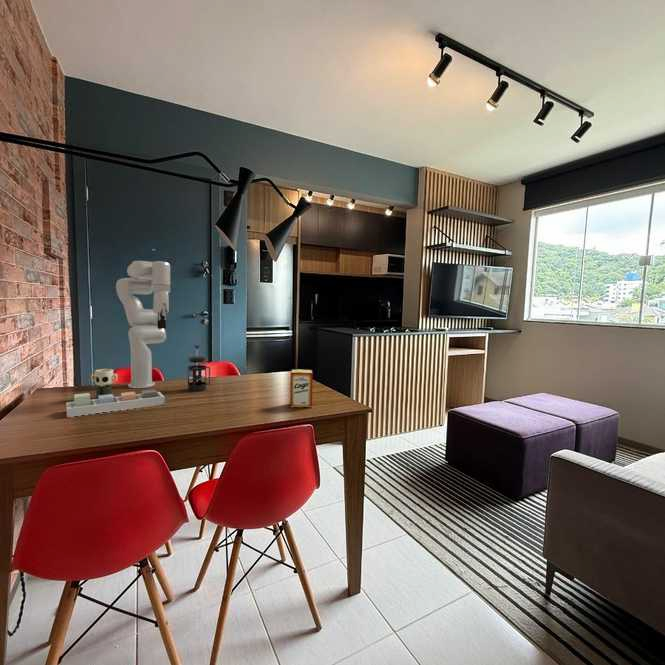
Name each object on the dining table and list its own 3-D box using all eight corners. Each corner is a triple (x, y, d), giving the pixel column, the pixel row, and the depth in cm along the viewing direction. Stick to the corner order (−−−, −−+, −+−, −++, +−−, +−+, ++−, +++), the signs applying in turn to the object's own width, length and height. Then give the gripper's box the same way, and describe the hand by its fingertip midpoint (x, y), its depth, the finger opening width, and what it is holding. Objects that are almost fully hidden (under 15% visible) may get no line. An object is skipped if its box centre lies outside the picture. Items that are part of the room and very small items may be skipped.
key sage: (74, 404, 139) (73, 394, 139) (89, 402, 142) (89, 392, 142) (74, 407, 135) (74, 397, 135) (90, 405, 139) (90, 395, 138)
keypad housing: (66, 411, 140) (66, 402, 140) (159, 399, 161) (159, 391, 161) (66, 418, 132) (66, 408, 132) (164, 404, 153) (164, 396, 153)
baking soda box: (311, 403, 161) (312, 369, 160) (311, 408, 154) (312, 372, 153) (290, 403, 160) (291, 369, 159) (290, 408, 153) (290, 371, 152)
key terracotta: (121, 402, 149) (120, 393, 149) (134, 400, 152) (134, 391, 152) (122, 405, 145) (122, 395, 145) (136, 403, 148) (136, 394, 148)
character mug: (87, 400, 155) (86, 371, 154) (95, 396, 162) (94, 368, 161) (114, 400, 157) (113, 371, 156) (120, 396, 164) (120, 368, 163)
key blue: (98, 405, 144) (98, 395, 144) (112, 403, 148) (112, 394, 147) (99, 408, 140) (99, 398, 140) (114, 406, 144) (114, 396, 143)
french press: (183, 391, 175) (183, 346, 173) (189, 387, 184) (189, 343, 183) (207, 392, 176) (207, 346, 174) (212, 387, 185) (212, 344, 184)
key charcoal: (142, 399, 154) (142, 390, 154) (154, 398, 157) (154, 389, 157) (144, 402, 150) (144, 393, 150) (157, 400, 153) (157, 391, 153)
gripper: (149, 288, 165) (149, 327, 166) (155, 288, 153) (156, 330, 155) (166, 289, 170) (166, 327, 171) (174, 288, 158) (174, 329, 159)
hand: (161, 328), depth 163 cm, fingers closed
